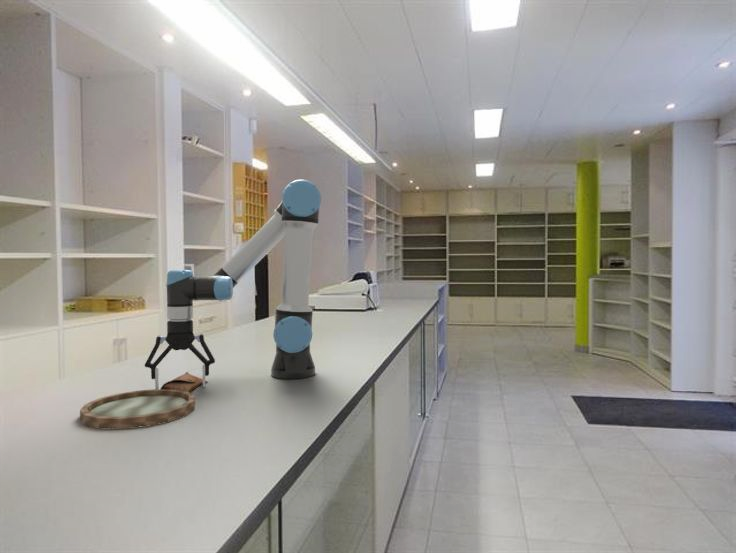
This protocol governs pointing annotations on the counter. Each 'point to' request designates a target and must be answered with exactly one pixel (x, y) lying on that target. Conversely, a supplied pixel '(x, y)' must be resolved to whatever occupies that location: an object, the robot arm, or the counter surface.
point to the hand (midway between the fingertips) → (180, 388)
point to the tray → (137, 408)
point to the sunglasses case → (184, 383)
